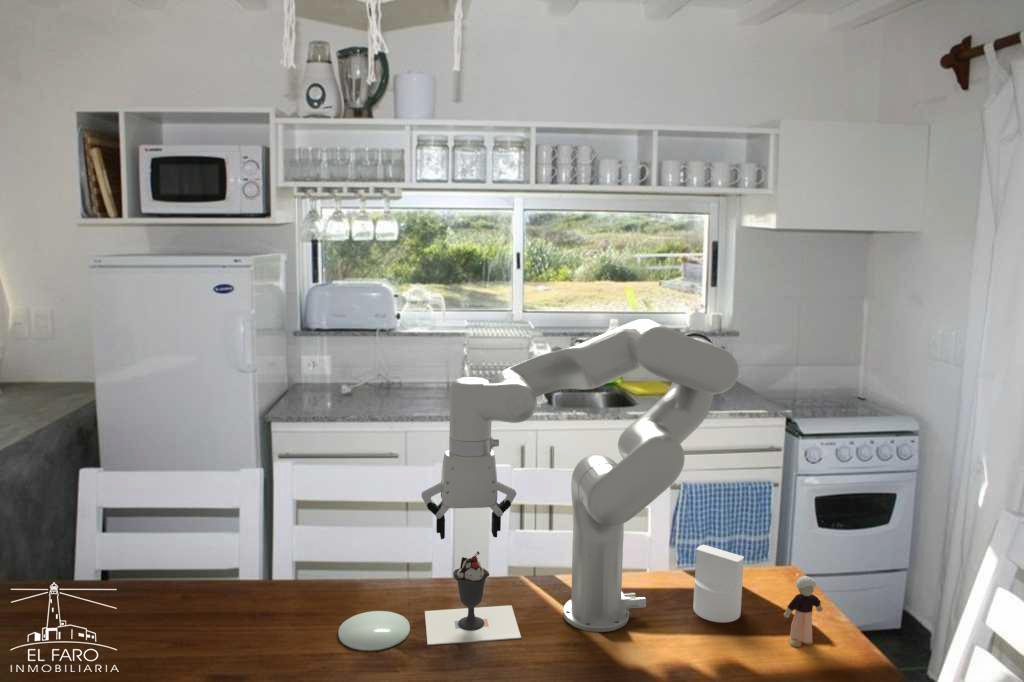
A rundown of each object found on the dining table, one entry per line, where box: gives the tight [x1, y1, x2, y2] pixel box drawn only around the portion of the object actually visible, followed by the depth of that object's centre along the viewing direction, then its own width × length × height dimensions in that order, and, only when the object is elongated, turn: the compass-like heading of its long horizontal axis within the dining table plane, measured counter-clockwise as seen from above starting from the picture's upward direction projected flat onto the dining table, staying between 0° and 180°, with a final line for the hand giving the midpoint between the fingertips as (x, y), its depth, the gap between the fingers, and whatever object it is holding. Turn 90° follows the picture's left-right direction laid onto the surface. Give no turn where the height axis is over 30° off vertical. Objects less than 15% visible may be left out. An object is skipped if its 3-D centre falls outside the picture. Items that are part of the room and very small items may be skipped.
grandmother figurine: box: [783, 575, 823, 648], centre depth 147 cm, size 8×4×13 cm, turn 117°
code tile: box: [424, 605, 522, 646], centre depth 153 cm, size 17×12×1 cm
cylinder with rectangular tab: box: [692, 544, 745, 623], centre depth 158 cm, size 9×9×12 cm
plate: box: [338, 610, 411, 652], centre depth 151 cm, size 13×13×1 cm
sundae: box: [452, 551, 490, 630], centre depth 152 cm, size 7×7×15 cm
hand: (468, 535), depth 150 cm, fingers open, 9 cm apart
